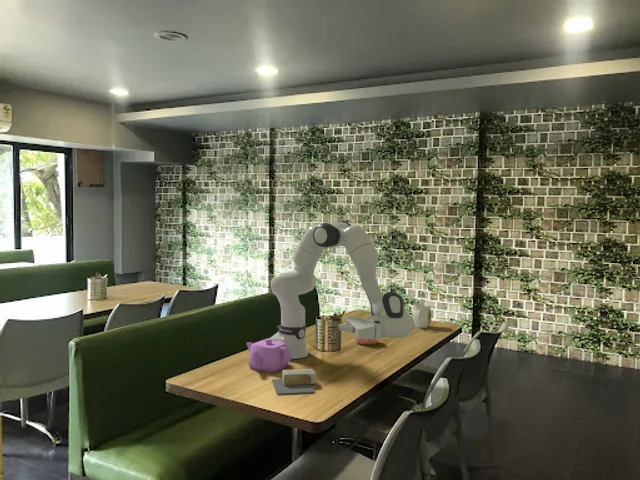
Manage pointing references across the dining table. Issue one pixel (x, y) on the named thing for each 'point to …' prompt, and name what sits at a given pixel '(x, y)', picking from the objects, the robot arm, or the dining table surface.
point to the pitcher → (422, 314)
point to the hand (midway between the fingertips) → (339, 327)
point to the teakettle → (268, 355)
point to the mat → (291, 388)
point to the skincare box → (298, 376)
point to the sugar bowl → (366, 341)
